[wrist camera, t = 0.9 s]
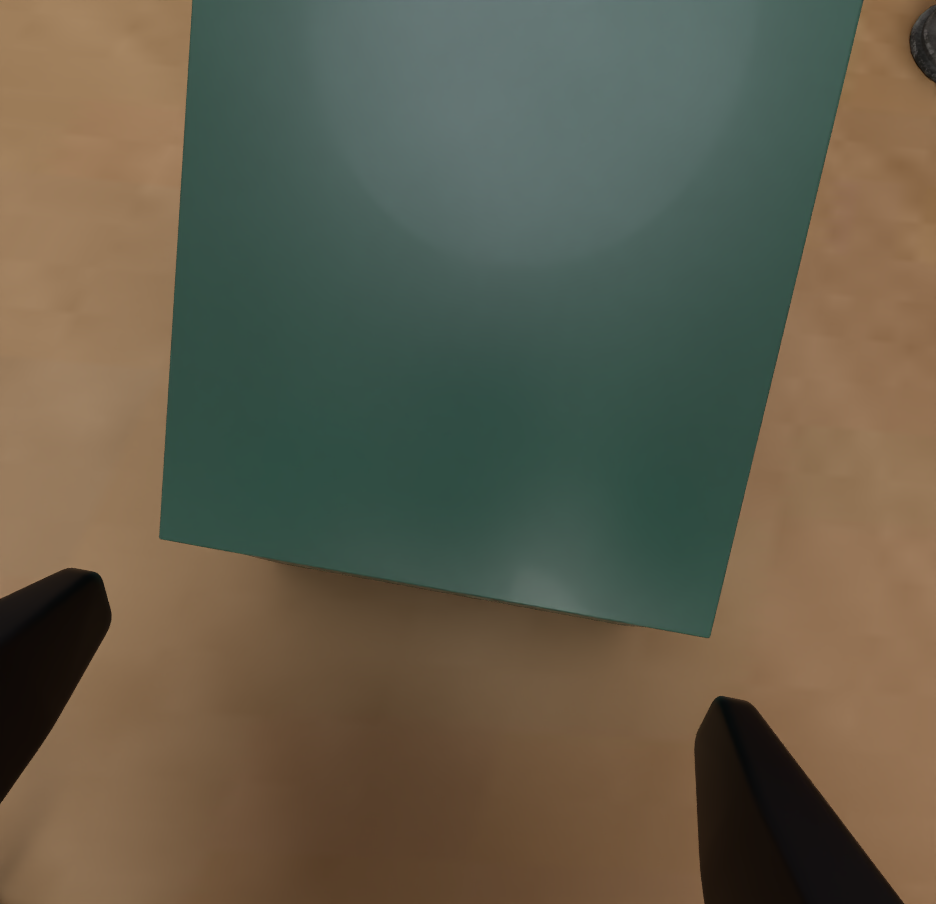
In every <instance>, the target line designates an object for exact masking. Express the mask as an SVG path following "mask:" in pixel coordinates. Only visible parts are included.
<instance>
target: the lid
mask: <svg viewBox="0 0 936 904" xmlns="http://www.w3.org/2000/svg"><path fill="white" fill-rule="evenodd" d="M862 4H863V0H192V16H191V33H190V49H189V65H188V81H187V97H186V113H185V130H184V146H183V162H182V178H181V194H180V210H179V226H178V243H177V259H176V275H175V291H174V307H173V323H172V340H171V356H170V372H169V388H168V404H167V420H166V436H165V453H164V469H163V485H162V501H161V517H160V533H159V538H160V539H163V540H168V541H174V542H179V543H185V544H190V545H196V546H201V547H207V548H213V549H218V550H224V551H229V552H235V553H240V554H246V555H251V556H257V557H262V558H268V559H273V560H279V561H284V562H290V563H296V564H301V565H307V566H312V567H318V568H323V569H329V570H334V571H340V572H345V573H351V574H356V575H362V576H367V577H373V578H378V579H384V580H390V581H395V582H401V583H406V584H412V585H417V586H423V587H428V588H434V589H439V590H445V591H450V592H456V593H461V594H467V595H472V596H478V597H484V598H489V599H495V600H500V601H506V602H511V603H517V604H522V605H528V606H533V607H539V608H544V609H550V610H555V611H561V612H566V613H572V614H578V615H583V616H589V617H594V618H600V619H605V620H611V621H616V622H622V623H627V624H633V625H638V626H644V627H649V628H655V629H660V630H666V631H672V632H677V633H683V634H688V635H694V636H699V637H705V638H709V637H710V635H711V631H712V627H713V622H714V618H715V614H716V610H717V606H718V602H719V597H720V593H721V589H722V585H723V581H724V577H725V573H726V568H727V564H728V560H729V556H730V552H731V548H732V544H733V539H734V535H735V531H736V527H737V523H738V519H739V514H740V510H741V506H742V502H743V498H744V494H745V490H746V485H747V481H748V477H749V473H750V469H751V465H752V461H753V456H754V452H755V448H756V444H757V440H758V436H759V432H760V427H761V423H762V419H763V415H764V411H765V407H766V402H767V398H768V394H769V390H770V386H771V382H772V378H773V373H774V369H775V365H776V361H777V357H778V353H779V349H780V344H781V340H782V336H783V332H784V328H785V324H786V319H787V315H788V311H789V307H790V303H791V299H792V295H793V290H794V286H795V282H796V278H797V274H798V270H799V266H800V261H801V257H802V253H803V249H804V245H805V241H806V236H807V232H808V228H809V224H810V220H811V216H812V212H813V207H814V203H815V199H816V195H817V191H818V187H819V183H820V178H821V174H822V170H823V166H824V162H825V158H826V153H827V149H828V145H829V141H830V137H831V133H832V129H833V124H834V120H835V116H836V112H837V108H838V104H839V100H840V95H841V91H842V87H843V83H844V79H845V75H846V70H847V66H848V62H849V58H850V54H851V50H852V46H853V41H854V37H855V33H856V29H857V25H858V21H859V17H860V12H861V8H862Z"/></svg>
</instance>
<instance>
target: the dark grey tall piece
mask: <svg viewBox="0 0 936 904" xmlns="http://www.w3.org/2000/svg"><path fill="white" fill-rule="evenodd" d="M910 45H911V52H912V54H913V56H914V59H915V61H916V63H917V65H918V66H919V67H920V68H921V69H922V70H923V72H924V73H925V74H926V75H927V76H928V77H929V78H931V79H932V80H933V81H935V82H936V5H934V6H932V7H930V8H929V9H927V10H926V11H925V12H924V13H923V14H921V15H920V16H919V18H918V19H917V21H916V23H915V24H914V26H913V27H912V31H911V36H910Z"/></svg>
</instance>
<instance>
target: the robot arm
mask: <svg viewBox="0 0 936 904" xmlns="http://www.w3.org/2000/svg"><path fill="white" fill-rule="evenodd" d="M111 615H112V614H111V609H110V605H109V602H108V598H107V594H106V591H105V587H104V583H103V580H102V578H101V576H100V575H99V574H98V573H96V572H92V571H87V570H82V569H77V568H67V569H64V570H61V571H59V572H57V573H54V574H52V575H50V576H48V577H46V578H44V579H42V580H40V581H37V582H35V583H33V584H31V585H29V586H27V587H25V588H23V589H20V590H18V591H16V592H14V593H12V594H10V595H8V596H6V597H3V598H1V599H0V804H1V802H2V801H3V799H4V798H5V796H6V795H7V793H8V792H9V791H10V789H11V788H12V786H13V785H14V783H15V782H16V781H17V779H18V778H19V776H20V775H21V773H22V772H23V771H24V769H25V768H26V766H27V765H28V763H29V762H30V761H31V759H32V758H33V756H34V755H35V753H36V752H37V751H38V749H39V748H40V746H41V745H42V743H43V742H44V740H45V739H46V737H47V736H48V734H49V733H50V731H51V729H52V728H53V726H54V724H55V723H56V721H57V719H58V718H59V716H60V714H61V713H62V711H63V709H64V707H65V706H66V704H67V702H68V700H69V699H70V697H71V695H72V693H73V691H74V690H75V688H76V686H77V684H78V683H79V681H80V679H81V677H82V676H83V674H84V672H85V670H86V669H87V667H88V665H89V663H90V661H91V660H92V658H93V656H94V654H95V653H96V651H97V649H98V647H99V646H100V644H101V642H102V640H103V639H104V637H105V635H106V633H107V631H108V629H109V626H110V623H111ZM694 754H695V775H696V796H697V817H698V839H699V858H700V872H701V881H702V889H703V897H704V903H705V904H904V903H903V901H902V900H901V899H900V897H899V896H898V895H897V893H896V892H895V891H894V890H893V888H892V887H891V886H890V884H889V883H888V882H887V880H886V879H885V878H884V876H883V875H882V874H881V872H880V871H879V870H878V868H877V867H876V866H875V865H874V863H873V862H872V861H871V859H870V858H869V857H868V855H867V854H866V853H865V851H864V850H863V849H862V847H861V846H860V845H859V843H858V842H857V841H856V840H855V838H854V837H853V836H852V834H851V833H850V832H849V830H848V829H847V828H846V826H845V825H844V824H843V822H842V821H841V820H840V819H839V817H838V816H837V815H836V813H835V812H834V811H833V809H832V808H831V807H830V805H829V804H828V803H827V801H826V800H825V799H824V797H823V796H822V795H821V794H820V792H819V791H818V790H817V788H816V787H815V786H814V784H813V783H812V782H811V780H810V779H809V778H808V776H807V775H806V774H805V772H804V771H803V770H802V769H801V767H800V766H799V765H798V763H797V762H796V761H795V759H794V758H793V757H792V755H791V754H790V753H789V751H788V750H787V749H786V747H785V746H784V745H783V744H782V742H781V741H780V740H779V738H778V737H777V736H776V734H775V733H774V732H773V730H772V729H771V728H770V726H769V725H768V724H767V722H766V721H765V720H764V719H763V717H762V716H761V715H760V713H759V712H758V711H757V709H756V708H755V707H754V706H753V705H752V704H751V703H749V702H747V701H744V700H740V699H735V698H730V697H725V696H719V697H717V698H715V699H714V701H713V702H712V704H711V706H710V708H709V710H708V712H707V714H706V716H705V718H704V720H703V722H702V723H701V725H700V727H699V729H698V732H697V734H696V738H695V747H694Z"/></svg>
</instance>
